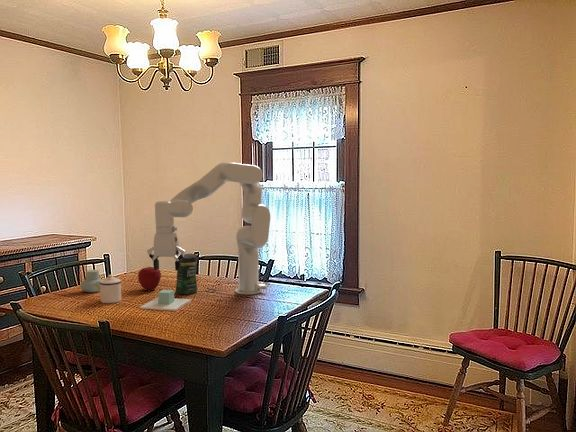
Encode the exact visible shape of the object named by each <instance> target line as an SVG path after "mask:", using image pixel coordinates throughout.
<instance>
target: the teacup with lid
mask: <svg viewBox="0 0 576 432" xmlns="http://www.w3.org/2000/svg"><path fill="white" fill-rule="evenodd" d="M99 293H100V302H101V303H102V304H114V303H115V304H116V303H119V302H121V301H122V280H121V278H117V277H114V275H113V274H108V275H107V277H105V278H103V279H101V281H100V285H99Z"/></svg>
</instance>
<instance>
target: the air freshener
mask: <svg viewBox="0 0 576 432" xmlns="http://www.w3.org/2000/svg"><path fill="white" fill-rule="evenodd" d="M101 280H102V279H101V278H100V271H99V270H98V269H89V270H86V271H85V279H84V280H83V281H81V283H80V289H81V290H82V291H83V292H86V293H90V294H91V293H92V294H93V293H100V291H99V285H100V281H101Z"/></svg>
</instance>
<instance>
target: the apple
mask: <svg viewBox="0 0 576 432" xmlns="http://www.w3.org/2000/svg"><path fill="white" fill-rule="evenodd" d="M161 272H162V271H160V268H159V269H157V270H154V266H153V267H152V266H150V265H149V266H148V267H143V268H141V269H140V270H139V271H138V276H137V278H138V282H139V284H140V286H141V287H142V288H143V289H144V290H145V291H148V292H149V291H153V290H155V289H156V288H157V287H158V286H159V284H160V281H161V278H162V277H161V276H162V273H161Z"/></svg>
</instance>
